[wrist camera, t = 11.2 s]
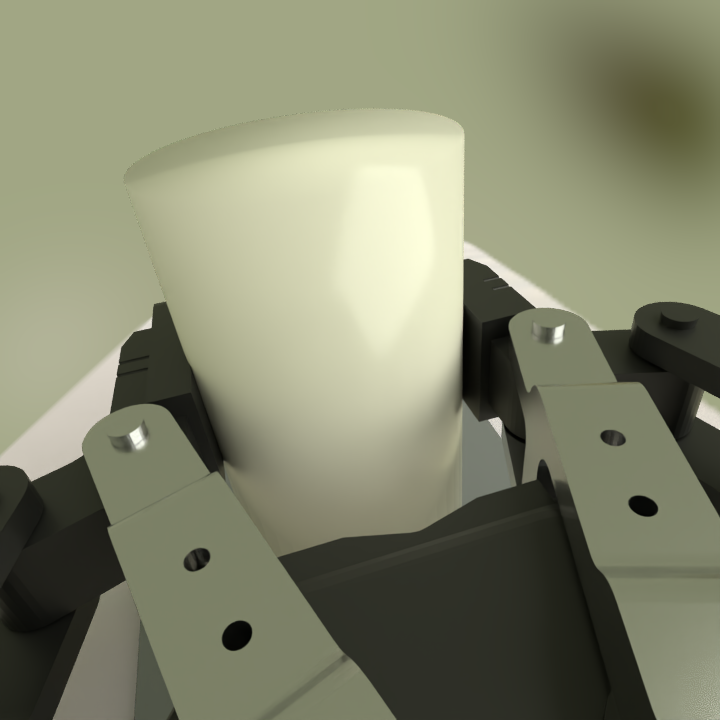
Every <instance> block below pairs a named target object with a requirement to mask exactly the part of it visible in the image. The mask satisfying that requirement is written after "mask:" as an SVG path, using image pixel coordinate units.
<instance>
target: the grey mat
mask: <svg viewBox="0 0 720 720" xmlns="http://www.w3.org/2000/svg"><path fill="white" fill-rule="evenodd" d="M224 470H225V467H224ZM225 480H226V484H227V485H228V487H229V488H230V489H231V491H232V492H233V490H232V487H231V484H230V481H229V478H228V476H227V473H226V470H225ZM510 487H511V484H510V479H509V474H508V469H507V464H506V459H505V454H504V449H503V444H502V439H501V438H500V436H499V435H498V433H497V432H496V431H495V429H494V428H493V427H492V425H491V424H490V422H489V421H488V420H485V421H481V422H479V421H478V420H477V419H476V417H475V416H474V414H473V413H472V411H471V410H470V409H469V407H468V406H467V404H466V403H465V402H464V400H463V406H462V506H464V505H465V504H467V503H469V502H470V501H472V500H474V499H475V498H477V497H480V496H484V495H487V494H490V493H494V492H497V491H500V490H504V489H507V488H510ZM233 494H234V493H233ZM173 707H174V705H173V702H172V700H171V697H170V694H169V692H168V689H167V686H166V684H165V681H164V679H163V676H162V673H161V671H160V668H159V665H158V663H157V660H156V657H155V655H154V652H153V650H152V647H151V644H150V642H149V639H148V636H147V634H146V631H145V628H144V626H143V623H142V620H141V622H140V637H139V653H138V669H137V685H136V700H135V716H134V720H166V719H167V717H168V716H169V714H170V712H171V711H172V709H173Z"/></svg>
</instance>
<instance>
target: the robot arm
mask: <svg viewBox="0 0 720 720" xmlns="http://www.w3.org/2000/svg"><path fill="white" fill-rule="evenodd" d="M119 364H120V365H118V371H117V378H116V382H115V388H114V394H113V400H112V406H111V411H110V414H109V415H108V416H106V417H104V418H103V419H102V420H100V421H99V422H98V423H96V424H95V425H94V426H93V427H92V428H91V429H90V431H89V432H88V433H87V435H86V436H85V438H84V441H83V443H82V451H83V454H84V455H83V456H82V457H80V458H78V459H77V460H75V461H74V462H72V463H70V464H68V465H66V466H64V467H62V468H60V469H57V470H55V471H53V472H51V473H49V474H47V475H45V476H42V477H40V478H38V479H36V480H34V481H32V482H31V481H30V479H29V478H28V476H27V475H26V473H25V472H24V471H23V470H22V469H20V468H18V467H15V466H8V465H7V466H0V720H52V719H53V717H54V714H55V712H56V709H57V707H58V704H59V702H60V699H61V697H62V694H63V692H64V689H65V687H66V684H67V682H68V679H69V677H70V674H71V671H72V669H73V666H74V664H75V661H76V659H77V656H78V654H79V651H80V649H81V646H82V644H83V641H84V639H85V636H86V634H87V631H88V629H89V626H90V623H91V621H92V618H93V616H94V613H95V611H96V608H97V606H98V603H99V599H100V595H101V594H103V593H105V592H106V591H108V590H110V589H111V588H113V587H115V586H117V585H118V584H120V583H122V582H123V581H125V580H126V581H127V584H128V586H129V589H130V591H131V594H132V597H133V599H134V602H135V605H136V607H137V610H138V613H139V615H140V618H141V620H142V623H143V626H144V628H145V631H146V634H147V636H148V639H149V642H150V644H151V647H152V650H153V652H154V655H155V657H156V660H157V663H158V665H159V668H160V671H161V673H162V676H163V679H164V681H165V684H166V686H167V689H168V692H169V694H170V697H171V700H172V702H173V705H174V707H173V709H172V711H171V712H170V714H169V716H168V717H167V719H166V720H720V430H718V429H717V428H715V427H713V426H711V425H710V424H708V423H706V422H704V421H702V420H701V419H699V418H697V417H696V414H697V411H698V408H699V405H700V402H701V399H702V396H703V393H704V391H707V392H708V393H710V394H712V395H714V396H716V397H718V398H720V315H717V314H715V313H713V312H710V311H708V310H705V309H703V308H700V307H696V306H693V305H690V304H684V303H677V302H658V303H652V304H648V305H645V306H643V307H641V308H639V309H638V310H637V311H636V313H635V315H634V319H633V324H632V328H631V330H609V331H591V329H590V327H589V326H588V324H587V323H586V321H585V320H583V319H582V318H581V317H579V316H578V315H576V314H574V313H571V312H568V311H565V310H561V309H554V308H535V307H534V306H533V305H532V304H531V303H529V302H528V301H527V300H526V299H525V298H524V297H522V296H521V295H520V294H519V293H518V292H517V291H515V290H514V289H513V288H512V287H509V286H508V284H507V283H506V282H505V281H504V280H503V279H502V278H499V276H498V275H497V274H496V273H495V272H493V271H492V270H491V269H490V268H489V267H488V266H486V265H483V264H481V263H478V262H475V261H473V260H470V259H465V260H463V400H464V402H465V403H466V404H467V406H468V407H469V409H470V410H471V411H472V413H473V414H474V416H475V417H476V419H477V420H478V421H479V422H481V421H485V420H488V419H492V418H496V417H499V418H500V419H501V420H502V435H501V437H502V444H503V449H504V454H505V459H506V464H507V469H508V474H509V479H510V484H511V487H510V488H507V489H504V490H500V491H497V492H494V493H490V494H487V495H484V496H480V497H477V498H475V499H474V500H472V501H470V502H469V503H467V504H465V505H464V506H462V507H460V508H458V509H457V510H455V511H453V512H452V513H450V514H448V515H447V516H445V517H443V518H441V519H440V520H438V521H436V522H435V523H433V524H431V525H429V526H428V527H426V528H424V529H422V530H420V531H417V532H411V533H398V534H384V535H371V536H357V537H343V538H340V539H337V540H333V541H330V542H327V543H323V544H320V545H316V546H313V547H310V548H306V549H303V550H300V551H296V552H293V553H290V554H286V555H283V556H280V557H276V555H275V554H274V552H273V551H272V549H271V548H270V546H269V545H268V544H267V542H266V541H265V539H264V538H263V536H262V535H261V533H260V532H259V530H258V529H257V527H256V526H255V525H254V523H253V522H252V520H251V519H250V517H249V516H248V514H247V513H246V511H245V510H244V508H243V507H242V506H241V504H240V503H239V501H238V500H237V498H236V497H235V495H234V494H233V492H232V491H231V489H230V488H229V487H228V485H227V484H226V480H225V470H224V460H223V457H222V454H221V451H220V448H219V446H218V443H217V440H216V437H215V434H214V431H213V428H212V426H211V423H210V420H209V417H208V414H207V411H206V408H205V406H204V403H203V400H202V397H201V394H200V391H199V388H198V386H197V383H196V380H195V377H194V374H193V371H192V369H191V366H190V364H189V363H188V361H187V358H186V356H185V354H184V351H183V348H182V345H181V342H180V340H179V337H178V334H177V331H176V328H175V325H174V323H173V320H172V317H171V314H170V311H169V308H168V306H167V303H166V302H162V303H157V304H154V307H153V319H152V328H150V329H145V330H141V331H136V332H134V333H133V334H132V335H131V336H130V338H129V339H128V340H127V341H126V342H125V344H124V345H123V346H122V347H121V353H120V359H119Z"/></svg>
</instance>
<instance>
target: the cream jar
mask: <svg viewBox="0 0 720 720" xmlns="http://www.w3.org/2000/svg"><path fill="white" fill-rule="evenodd" d="M124 184H125V187H126V190H127V192H128V195H129V198H130V201H131V204H132V207H133V209H134V212H135V215H136V218H137V220H138V223H139V226H140V229H141V232H142V235H143V238H144V240H145V243H146V246H147V249H148V252H149V255H150V257H151V260H152V263H153V266H154V269H155V271H156V274H157V277H158V280H159V283H160V286H161V288H162V291H163V294H164V297H165V300H166V303H167V306H168V308H169V311H170V314H171V317H172V320H173V323H174V325H175V328H176V331H177V334H178V337H179V340H180V342H181V345H182V348H183V351H184V354H185V356H186V358H187V361H188V363H189V364H190V366H191V369H192V371H193V374H194V377H195V380H196V383H197V386H198V388H199V391H200V394H201V397H202V400H203V403H204V406H205V408H206V411H207V414H208V417H209V420H210V423H211V426H212V428H213V431H214V434H215V437H216V440H217V443H218V446H219V448H220V451H221V454H222V457H223V460H224V467H225V470H226V473H227V476H228V478H229V481H230V484H231V487H232V490H233V493H234V495H235V497H236V498H237V500H238V501H239V503H240V504H241V506H242V507H243V508H244V510H245V511H246V513H247V514H248V516H249V517H250V519H251V520H252V522H253V523H254V525H255V526H256V527H257V529H258V530H259V532H260V533H261V535H262V536H263V538H264V539H265V541H266V542H267V544H268V545H269V546H270V548H271V549H272V551H273V552H274V554H275V555H276V557H280V556H283V555H286V554H290V553H293V552H296V551H300V550H303V549H306V548H310V547H313V546H316V545H320V544H323V543H327V542H330V541H333V540H337V539H340V538H343V537H357V536H371V535H384V534H398V533H411V532H417V531H420V530H422V529H424V528H426V527H428V526H429V525H431V524H433V523H435V522H436V521H438V520H440V519H441V518H443V517H445V516H447V515H448V514H450V513H452V512H453V511H455V510H457V509H458V508H460V507H462V406H463V252H464V131H463V128H462V127H461V126H460V125H459V124H458V123H457V122H455V121H453V120H451V119H449V118H447V117H444V116H441V115H437V114H433V113H427V112H421V111H413V110H402V109H374V108H373V109H344V110H329V111H319V112H308V113H300V114H292V115H285V116H279V117H273V118H267V119H261V120H256V121H251V122H246V123H241V124H236V125H232V126H228V127H224V128H220V129H216V130H212V131H209V132H205V133H201V134H198V135H195V136H192V137H189V138H186V139H183V140H180V141H177V142H175V143H172V144H169V145H167V146H164V147H162V148H160V149H158V150H156V151H153V152H151V153H150V154H148V155H146V156H144V157H143V158H141V159H140V160H138V161H137V162H135V163H134V164H133V165H132V166H131V167H130V168H129V169H128V170H127V171H126V173H125V175H124Z"/></svg>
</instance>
